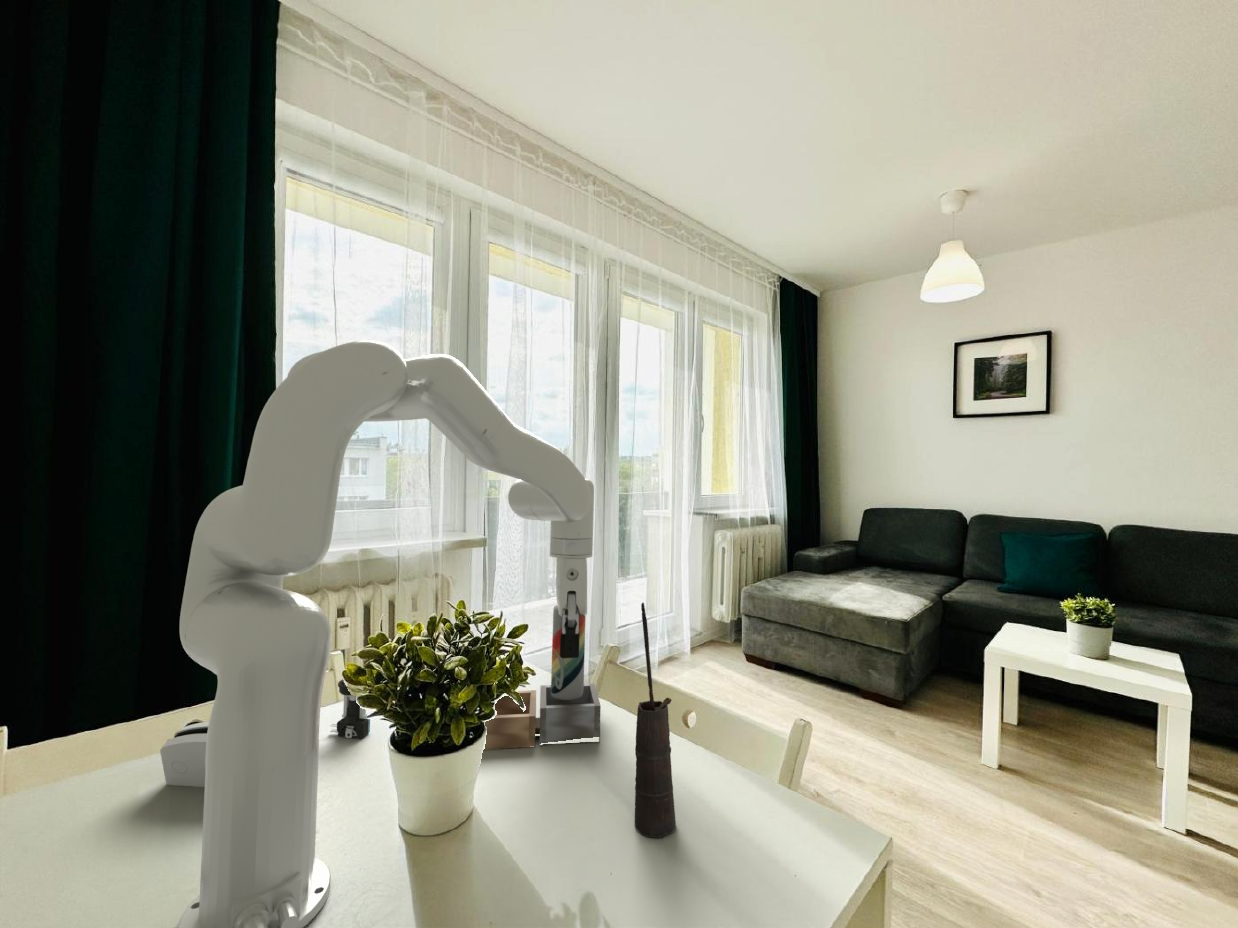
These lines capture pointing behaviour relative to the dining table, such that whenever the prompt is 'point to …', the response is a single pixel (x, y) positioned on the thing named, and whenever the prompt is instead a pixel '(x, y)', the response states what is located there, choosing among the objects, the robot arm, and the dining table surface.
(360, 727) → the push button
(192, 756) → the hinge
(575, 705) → the bottle stand
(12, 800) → the dining table surface
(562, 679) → the lotion bottle
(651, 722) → the butter churn
